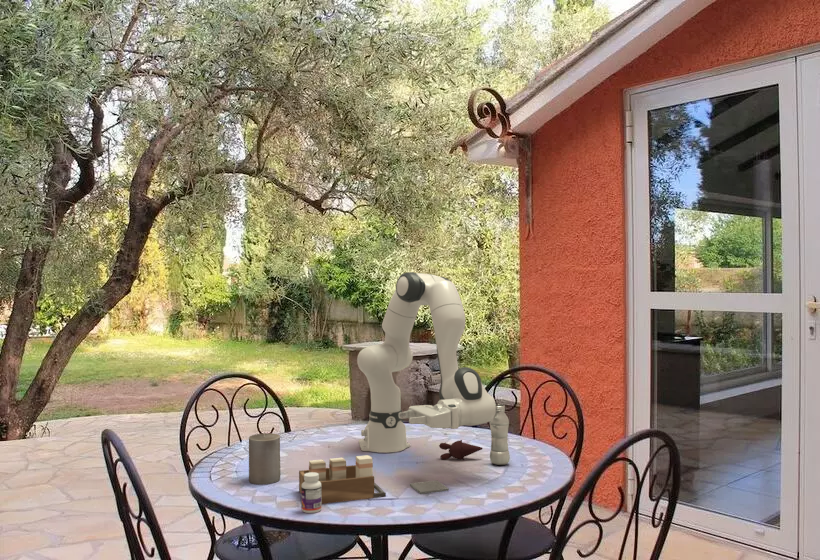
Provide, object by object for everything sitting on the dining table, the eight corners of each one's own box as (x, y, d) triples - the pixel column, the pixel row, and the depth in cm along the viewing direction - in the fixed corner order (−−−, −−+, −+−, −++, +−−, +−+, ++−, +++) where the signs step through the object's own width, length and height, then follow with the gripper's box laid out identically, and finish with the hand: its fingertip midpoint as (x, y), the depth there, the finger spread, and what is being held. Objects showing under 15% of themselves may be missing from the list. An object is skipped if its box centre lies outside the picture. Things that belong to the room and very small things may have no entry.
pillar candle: (253, 475, 217) (252, 429, 217) (283, 475, 216) (283, 428, 216) (245, 485, 207) (244, 436, 207) (276, 485, 207) (276, 436, 207)
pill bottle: (302, 507, 186) (302, 471, 186) (322, 506, 186) (321, 471, 186) (300, 513, 180) (300, 477, 180) (321, 513, 181) (320, 476, 181)
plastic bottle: (509, 467, 225) (508, 407, 225) (488, 466, 226) (488, 406, 226) (510, 462, 231) (509, 403, 231) (490, 461, 232) (490, 403, 232)
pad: (409, 485, 205) (409, 483, 205) (437, 482, 208) (437, 480, 208) (420, 494, 197) (420, 491, 197) (448, 490, 200) (448, 488, 200)
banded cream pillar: (355, 490, 201) (355, 456, 201) (368, 488, 202) (368, 455, 202) (359, 494, 197) (359, 459, 197) (372, 492, 199) (372, 458, 199)
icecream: (481, 438, 240) (439, 441, 240) (481, 437, 233) (438, 441, 233) (483, 458, 238) (440, 462, 239) (484, 458, 231) (440, 462, 231)
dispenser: (299, 491, 200) (298, 457, 200) (371, 483, 208) (371, 450, 208) (308, 505, 187) (308, 469, 187) (385, 496, 195) (385, 461, 195)
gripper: (433, 399, 219) (393, 403, 214) (459, 408, 199) (415, 412, 195) (434, 418, 219) (393, 423, 214) (460, 429, 199) (416, 434, 195)
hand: (404, 418), depth 204 cm, fingers open, 8 cm apart
